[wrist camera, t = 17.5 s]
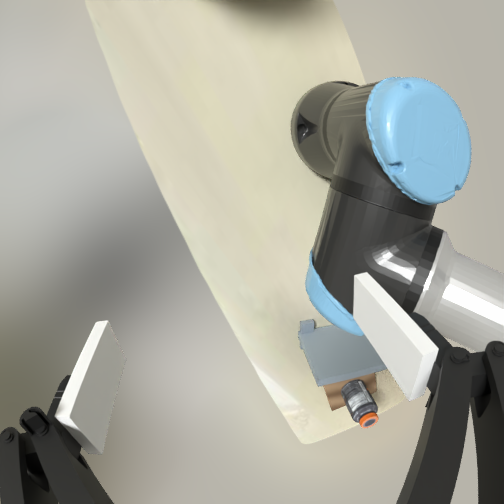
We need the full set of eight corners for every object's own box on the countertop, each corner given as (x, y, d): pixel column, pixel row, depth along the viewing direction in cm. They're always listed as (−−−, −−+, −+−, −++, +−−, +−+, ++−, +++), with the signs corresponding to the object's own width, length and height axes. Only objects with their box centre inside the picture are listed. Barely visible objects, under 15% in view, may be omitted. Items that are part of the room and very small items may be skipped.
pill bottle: (360, 393, 64) (378, 427, 53) (337, 397, 63) (354, 434, 53) (366, 376, 62) (386, 411, 51) (343, 380, 61) (361, 418, 51)
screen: (298, 346, 57) (317, 395, 45) (298, 321, 54) (319, 370, 42) (372, 331, 58) (401, 372, 46) (376, 307, 56) (409, 347, 44)
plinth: (321, 379, 61) (322, 383, 60) (370, 358, 61) (373, 361, 60) (330, 407, 66) (332, 410, 65) (374, 387, 66) (376, 391, 65)
